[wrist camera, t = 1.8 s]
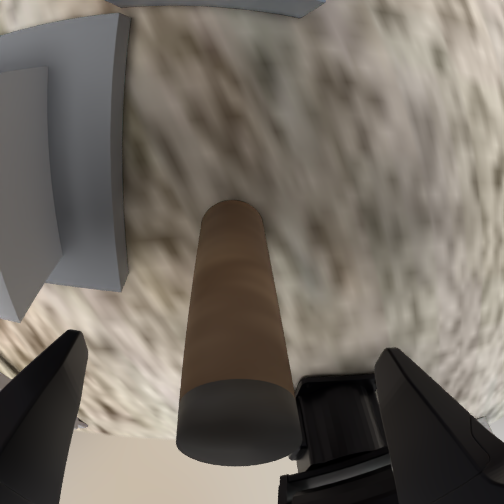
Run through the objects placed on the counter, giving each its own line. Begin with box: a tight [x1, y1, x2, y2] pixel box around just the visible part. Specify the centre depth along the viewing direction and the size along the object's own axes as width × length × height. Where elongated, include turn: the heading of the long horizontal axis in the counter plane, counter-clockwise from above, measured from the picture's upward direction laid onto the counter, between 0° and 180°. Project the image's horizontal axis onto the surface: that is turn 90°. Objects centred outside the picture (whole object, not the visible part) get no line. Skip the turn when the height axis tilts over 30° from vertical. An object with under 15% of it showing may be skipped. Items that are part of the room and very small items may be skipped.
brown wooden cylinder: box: [176, 200, 302, 466], centre depth 10 cm, size 3×3×10 cm
